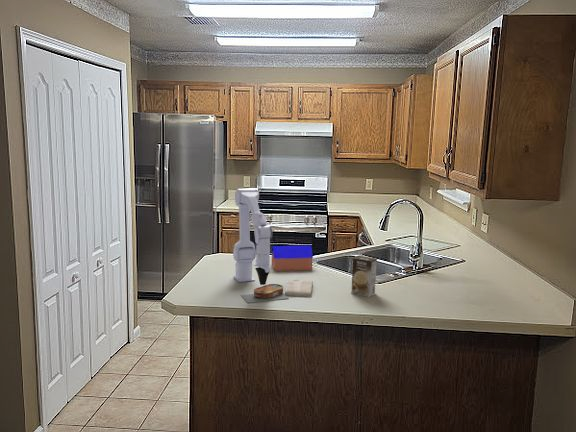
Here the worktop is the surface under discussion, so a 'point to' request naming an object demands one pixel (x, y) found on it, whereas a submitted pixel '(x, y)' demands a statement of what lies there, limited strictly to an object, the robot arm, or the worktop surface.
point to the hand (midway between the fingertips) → (262, 284)
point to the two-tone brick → (292, 258)
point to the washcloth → (298, 288)
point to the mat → (252, 299)
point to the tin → (268, 291)
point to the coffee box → (364, 276)
